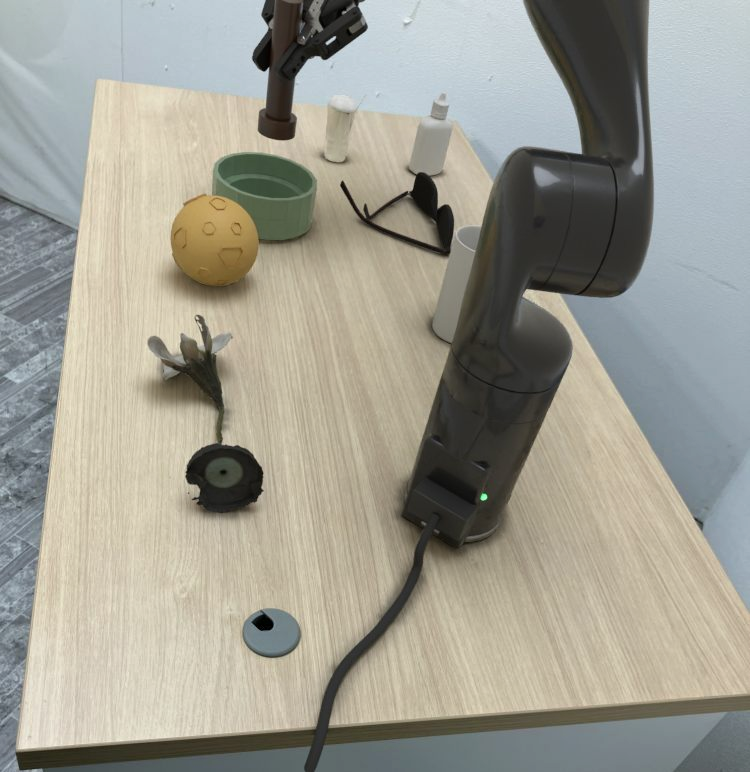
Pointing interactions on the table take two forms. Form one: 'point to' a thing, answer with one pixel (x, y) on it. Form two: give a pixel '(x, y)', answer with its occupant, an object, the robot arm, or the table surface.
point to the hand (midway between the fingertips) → (269, 71)
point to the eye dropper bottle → (432, 139)
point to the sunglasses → (428, 203)
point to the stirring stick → (279, 100)
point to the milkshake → (339, 126)
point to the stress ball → (214, 240)
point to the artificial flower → (216, 461)
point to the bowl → (268, 192)
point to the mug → (455, 281)
